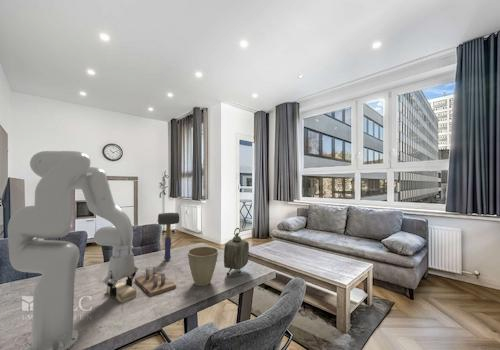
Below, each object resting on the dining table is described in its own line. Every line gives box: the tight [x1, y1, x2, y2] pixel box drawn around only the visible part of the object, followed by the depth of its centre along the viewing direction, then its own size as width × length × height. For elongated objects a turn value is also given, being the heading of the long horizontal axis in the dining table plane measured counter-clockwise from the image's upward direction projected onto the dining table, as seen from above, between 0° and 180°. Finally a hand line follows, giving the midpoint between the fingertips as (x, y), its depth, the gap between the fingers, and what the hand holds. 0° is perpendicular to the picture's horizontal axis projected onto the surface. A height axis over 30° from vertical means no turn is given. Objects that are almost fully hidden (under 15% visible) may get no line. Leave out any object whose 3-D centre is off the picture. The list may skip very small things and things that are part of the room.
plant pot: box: [187, 246, 219, 287], centre depth 114 cm, size 15×15×16 cm
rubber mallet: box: [157, 212, 180, 262], centre depth 145 cm, size 12×8×30 cm, turn 119°
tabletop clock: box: [223, 227, 250, 276], centre depth 127 cm, size 14×9×25 cm, turn 159°
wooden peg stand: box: [134, 266, 177, 297], centre depth 111 cm, size 20×12×6 cm, turn 44°
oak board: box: [106, 280, 137, 303], centre depth 101 cm, size 14×6×3 cm, turn 54°
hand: (121, 291), depth 101 cm, fingers closed on oak board, 6 cm apart
